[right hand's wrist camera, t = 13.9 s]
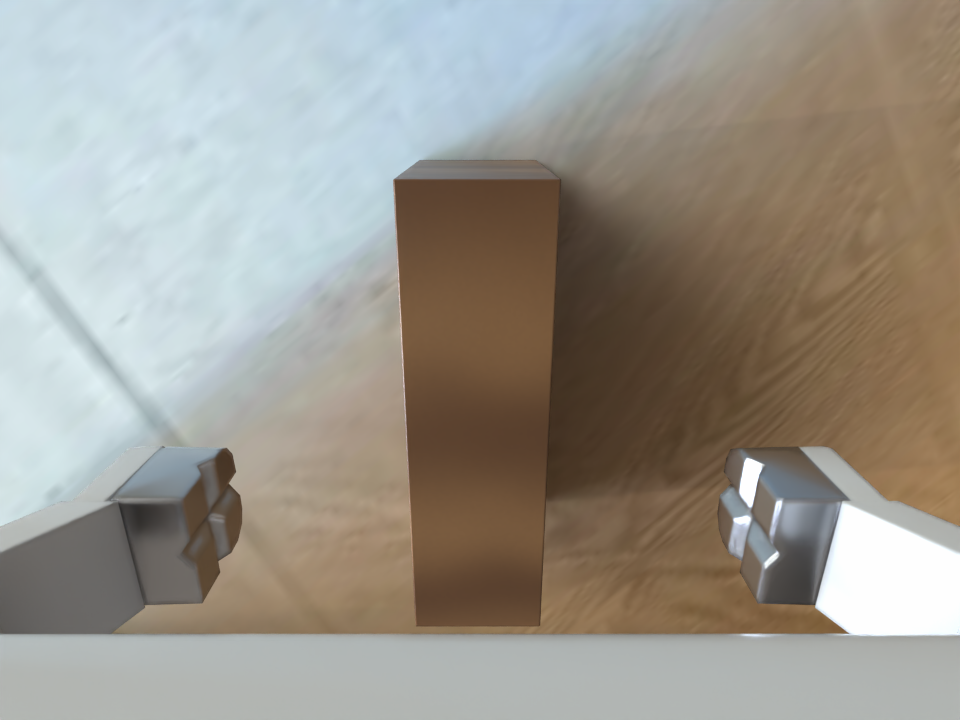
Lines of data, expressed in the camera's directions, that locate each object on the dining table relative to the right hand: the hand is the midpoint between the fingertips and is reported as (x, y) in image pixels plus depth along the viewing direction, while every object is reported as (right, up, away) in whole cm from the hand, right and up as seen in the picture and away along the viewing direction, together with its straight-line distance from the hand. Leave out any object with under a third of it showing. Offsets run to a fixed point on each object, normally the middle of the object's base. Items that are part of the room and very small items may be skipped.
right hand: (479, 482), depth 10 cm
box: (0, +3, +26) cm, 26 cm away
